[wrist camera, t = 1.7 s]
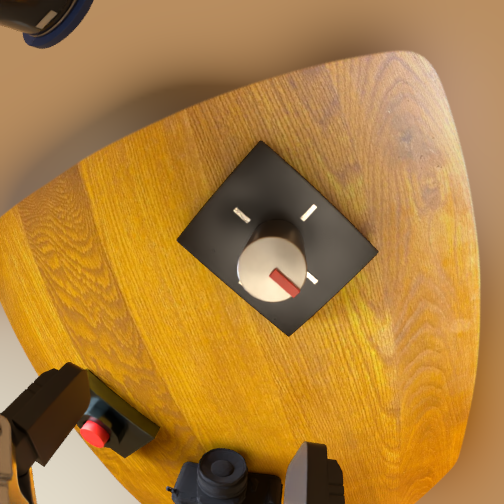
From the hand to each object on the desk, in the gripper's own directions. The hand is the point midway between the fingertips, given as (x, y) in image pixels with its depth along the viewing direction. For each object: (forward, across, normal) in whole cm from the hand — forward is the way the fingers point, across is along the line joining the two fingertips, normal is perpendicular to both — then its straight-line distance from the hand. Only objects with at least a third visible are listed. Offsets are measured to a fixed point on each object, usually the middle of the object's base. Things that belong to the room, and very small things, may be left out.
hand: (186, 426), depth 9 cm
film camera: (+18, -4, +29) cm, 34 cm away
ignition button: (+14, +14, +26) cm, 33 cm away
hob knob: (+15, -2, -3) cm, 15 cm away
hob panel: (+18, -2, -3) cm, 18 cm away
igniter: (+18, +14, +26) cm, 35 cm away
